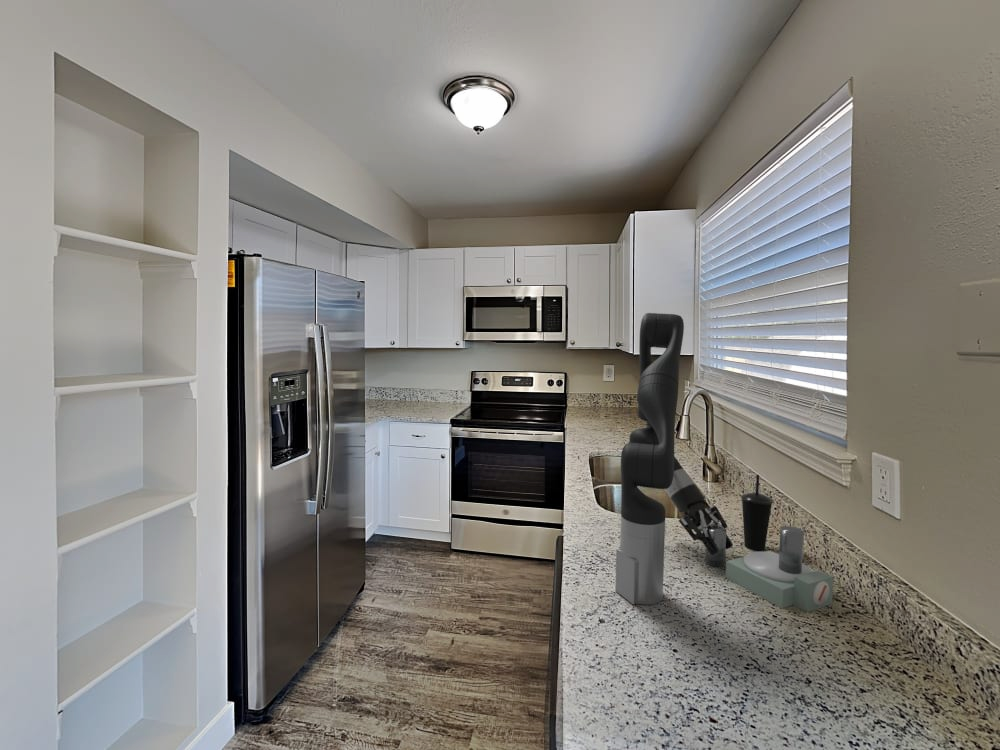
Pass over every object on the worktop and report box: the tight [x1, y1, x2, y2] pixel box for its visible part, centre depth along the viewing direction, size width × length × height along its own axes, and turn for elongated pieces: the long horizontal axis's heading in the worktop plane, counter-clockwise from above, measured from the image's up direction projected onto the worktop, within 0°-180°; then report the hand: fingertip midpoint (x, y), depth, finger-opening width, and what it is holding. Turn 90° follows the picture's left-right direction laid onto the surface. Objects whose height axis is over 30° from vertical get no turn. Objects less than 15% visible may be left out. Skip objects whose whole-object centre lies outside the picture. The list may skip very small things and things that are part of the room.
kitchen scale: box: [725, 549, 834, 613], centre depth 105 cm, size 15×18×6 cm
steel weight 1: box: [705, 526, 728, 569], centre depth 117 cm, size 4×4×9 cm
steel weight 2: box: [778, 525, 805, 574], centre depth 104 cm, size 4×4×9 cm
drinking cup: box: [740, 474, 774, 552], centre depth 126 cm, size 8×8×20 cm
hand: (722, 550), depth 115 cm, fingers open, 5 cm apart
